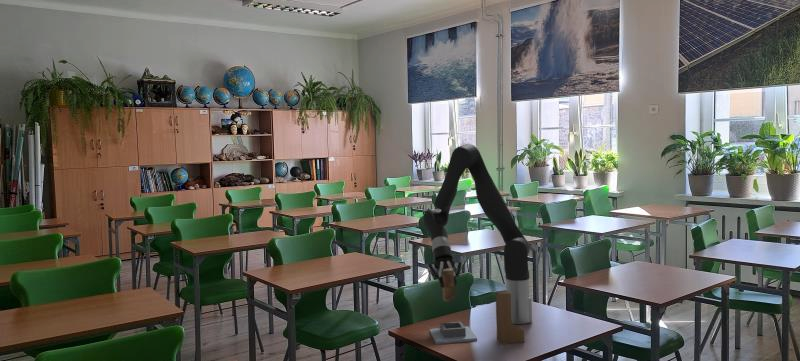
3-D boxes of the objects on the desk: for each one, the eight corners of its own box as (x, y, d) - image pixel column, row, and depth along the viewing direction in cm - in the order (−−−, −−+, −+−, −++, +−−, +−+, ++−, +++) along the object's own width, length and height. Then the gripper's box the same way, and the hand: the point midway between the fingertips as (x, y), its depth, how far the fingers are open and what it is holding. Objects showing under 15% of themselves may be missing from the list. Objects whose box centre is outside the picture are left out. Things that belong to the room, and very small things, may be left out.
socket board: (468, 328, 227) (468, 318, 227) (477, 340, 214) (476, 330, 213) (429, 331, 226) (429, 321, 225) (436, 344, 212) (435, 333, 212)
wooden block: (520, 338, 215) (519, 289, 213) (524, 342, 210) (523, 292, 209) (496, 340, 214) (495, 291, 212) (500, 344, 209) (498, 294, 208)
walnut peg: (452, 298, 233) (451, 268, 232) (454, 300, 229) (453, 270, 228) (442, 298, 233) (441, 268, 232) (444, 301, 229) (443, 271, 228)
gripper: (425, 246, 237) (431, 282, 226) (459, 243, 239) (467, 280, 227) (423, 256, 243) (429, 293, 231) (457, 254, 244) (465, 290, 233)
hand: (448, 286), depth 230 cm, fingers closed on walnut peg, 4 cm apart
